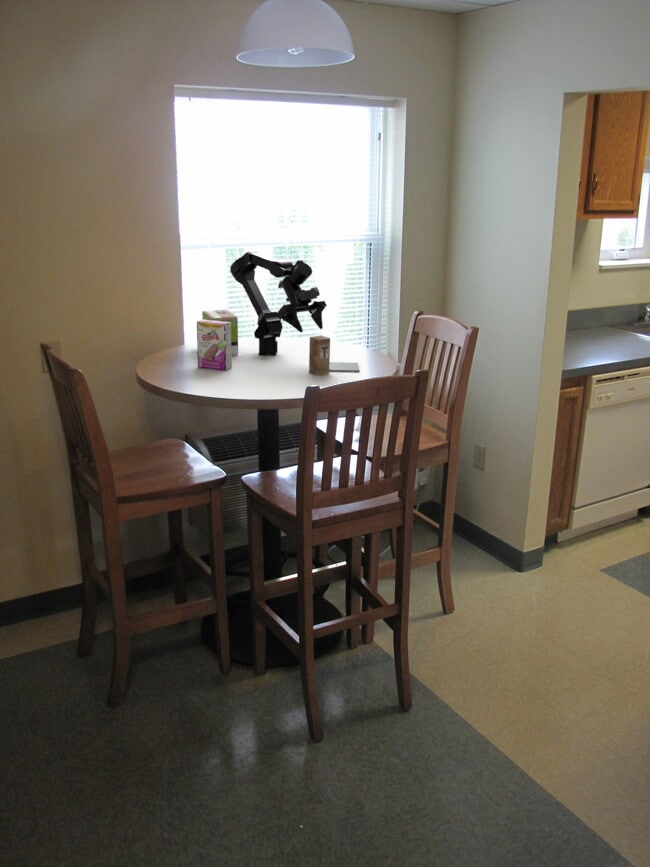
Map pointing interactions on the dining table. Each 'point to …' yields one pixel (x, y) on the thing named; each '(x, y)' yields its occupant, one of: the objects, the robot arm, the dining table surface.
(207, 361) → the candy bar box
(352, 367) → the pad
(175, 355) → the dining table surface
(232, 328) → the tea box
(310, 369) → the letter block
